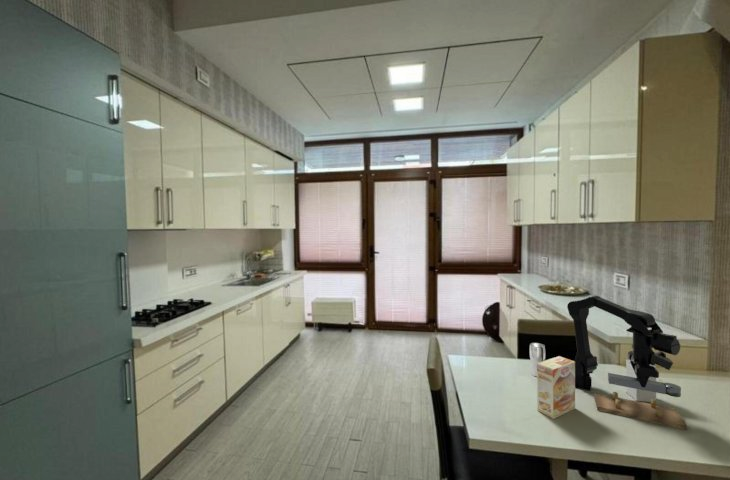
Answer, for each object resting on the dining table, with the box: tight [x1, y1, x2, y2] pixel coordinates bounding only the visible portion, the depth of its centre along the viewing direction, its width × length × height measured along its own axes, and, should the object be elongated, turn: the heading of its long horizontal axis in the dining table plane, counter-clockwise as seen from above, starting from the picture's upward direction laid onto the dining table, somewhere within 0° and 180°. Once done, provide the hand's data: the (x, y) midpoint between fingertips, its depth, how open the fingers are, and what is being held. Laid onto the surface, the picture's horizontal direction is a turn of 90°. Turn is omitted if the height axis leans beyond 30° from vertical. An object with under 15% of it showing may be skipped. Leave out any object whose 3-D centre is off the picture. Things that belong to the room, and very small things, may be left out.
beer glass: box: [529, 342, 546, 378], centre depth 158 cm, size 7×7×15 cm
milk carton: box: [625, 357, 657, 403], centre depth 134 cm, size 7×7×19 cm
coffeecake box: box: [536, 355, 576, 420], centre depth 127 cm, size 15×7×20 cm, turn 117°
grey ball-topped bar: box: [607, 372, 682, 398], centre depth 123 cm, size 21×5×3 cm, turn 58°
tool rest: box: [593, 391, 688, 431], centre depth 124 cm, size 26×12×4 cm, turn 59°
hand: (642, 385), depth 123 cm, fingers closed on grey ball-topped bar, 3 cm apart
